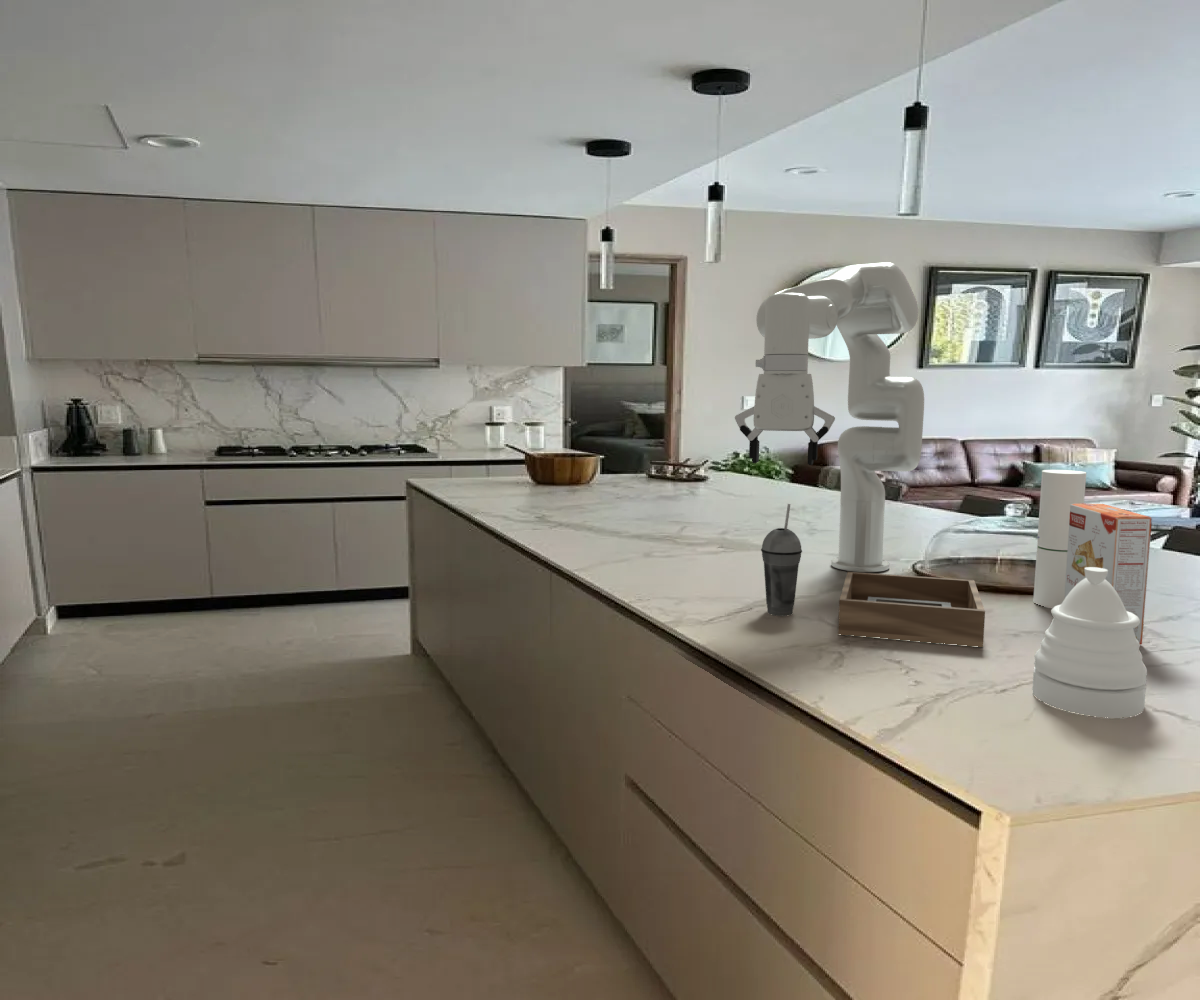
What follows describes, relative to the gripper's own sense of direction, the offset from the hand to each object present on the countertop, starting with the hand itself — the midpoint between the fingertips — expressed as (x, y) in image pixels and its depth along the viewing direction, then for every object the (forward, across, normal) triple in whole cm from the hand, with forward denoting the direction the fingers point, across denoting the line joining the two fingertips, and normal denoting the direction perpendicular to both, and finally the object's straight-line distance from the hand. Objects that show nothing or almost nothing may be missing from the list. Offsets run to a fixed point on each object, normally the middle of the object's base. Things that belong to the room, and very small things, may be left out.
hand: (782, 463), depth 151 cm
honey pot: (+28, +44, -29) cm, 60 cm away
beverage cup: (+28, 0, +1) cm, 28 cm away
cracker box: (+27, +52, +5) cm, 59 cm away
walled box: (+27, +22, +1) cm, 35 cm away
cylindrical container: (+27, +48, +23) cm, 60 cm away
